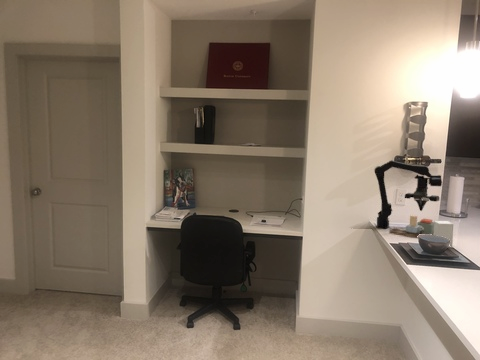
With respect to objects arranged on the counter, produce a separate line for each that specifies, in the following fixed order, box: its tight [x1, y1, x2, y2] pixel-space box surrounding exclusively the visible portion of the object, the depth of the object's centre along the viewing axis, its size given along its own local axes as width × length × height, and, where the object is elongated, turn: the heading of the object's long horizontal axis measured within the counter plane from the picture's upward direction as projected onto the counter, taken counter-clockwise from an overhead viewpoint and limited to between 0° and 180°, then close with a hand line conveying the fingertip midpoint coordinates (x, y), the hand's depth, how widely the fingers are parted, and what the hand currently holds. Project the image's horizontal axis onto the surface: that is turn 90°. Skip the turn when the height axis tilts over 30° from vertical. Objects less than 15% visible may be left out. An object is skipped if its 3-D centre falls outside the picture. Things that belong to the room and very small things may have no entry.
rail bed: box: [389, 227, 426, 239], centre depth 219 cm, size 18×7×4 cm, turn 46°
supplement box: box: [433, 220, 454, 247], centre depth 196 cm, size 7×7×13 cm
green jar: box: [417, 220, 434, 235], centre depth 223 cm, size 8×7×6 cm
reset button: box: [420, 218, 433, 224], centre depth 223 cm, size 5×5×6 cm
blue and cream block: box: [405, 214, 421, 233], centre depth 216 cm, size 6×7×9 cm
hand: (421, 210), depth 229 cm, fingers closed
